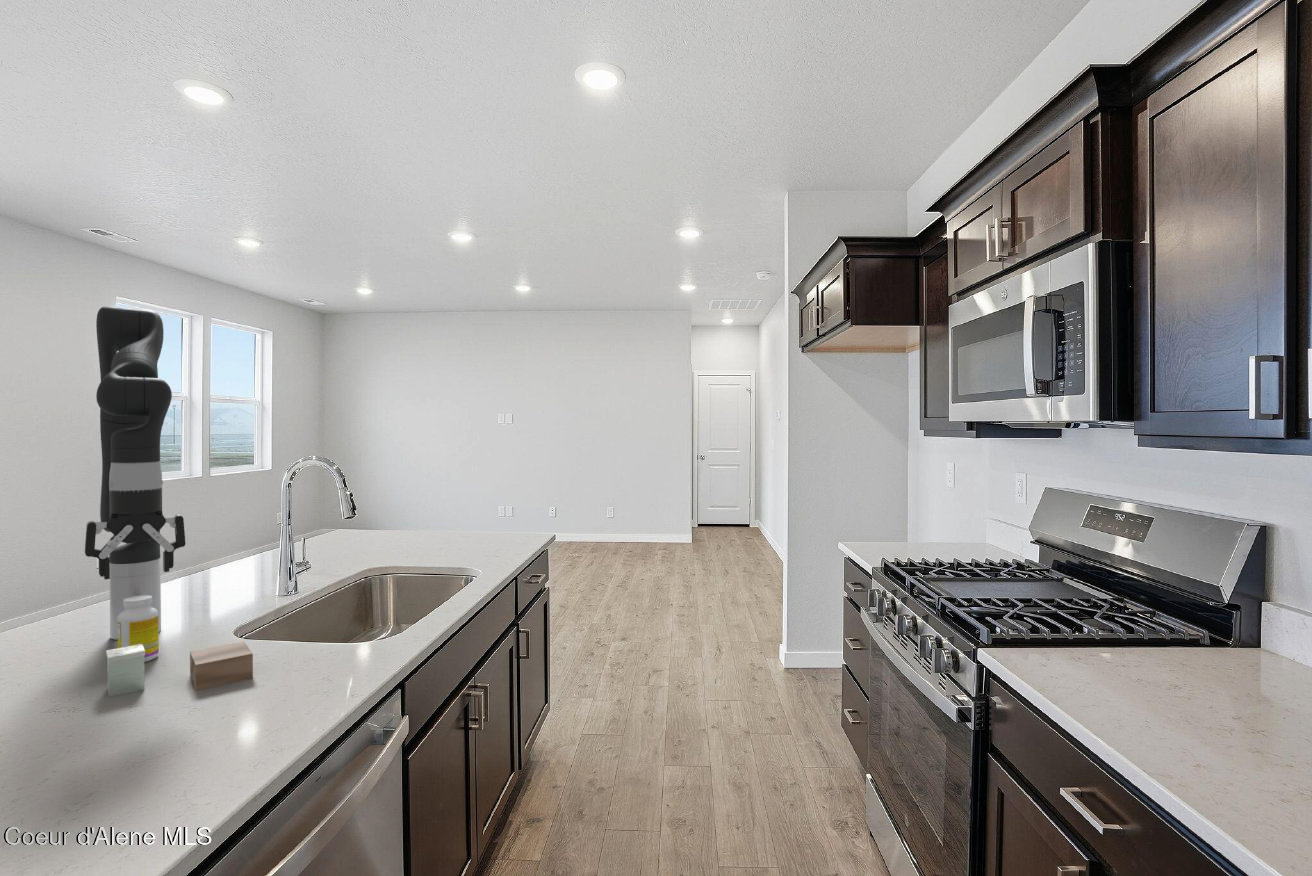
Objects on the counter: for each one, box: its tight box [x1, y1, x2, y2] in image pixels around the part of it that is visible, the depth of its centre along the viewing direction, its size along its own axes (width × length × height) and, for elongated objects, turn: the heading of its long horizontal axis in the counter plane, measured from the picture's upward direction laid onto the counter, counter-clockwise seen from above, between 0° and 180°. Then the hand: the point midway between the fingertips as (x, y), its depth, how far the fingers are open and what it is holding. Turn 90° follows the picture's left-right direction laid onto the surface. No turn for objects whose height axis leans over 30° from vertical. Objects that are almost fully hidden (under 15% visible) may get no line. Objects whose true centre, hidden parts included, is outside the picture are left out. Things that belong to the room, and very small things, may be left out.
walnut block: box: [189, 641, 254, 691], centre depth 125 cm, size 9×9×5 cm
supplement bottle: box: [117, 595, 160, 663], centre depth 134 cm, size 7×7×13 cm
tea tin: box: [105, 644, 146, 697], centre depth 119 cm, size 5×5×7 cm
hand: (137, 574), depth 119 cm, fingers open, 8 cm apart
